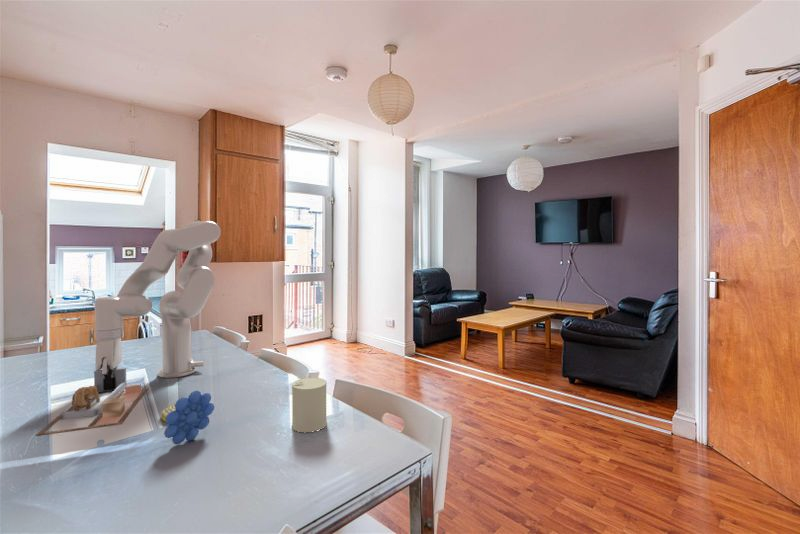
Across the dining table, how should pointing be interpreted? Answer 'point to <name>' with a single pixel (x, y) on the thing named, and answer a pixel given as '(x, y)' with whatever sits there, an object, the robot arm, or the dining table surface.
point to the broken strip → (130, 396)
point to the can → (309, 404)
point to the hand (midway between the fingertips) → (110, 387)
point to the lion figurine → (84, 397)
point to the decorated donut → (167, 411)
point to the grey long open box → (98, 383)
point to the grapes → (189, 417)
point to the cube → (113, 407)
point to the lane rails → (94, 419)
